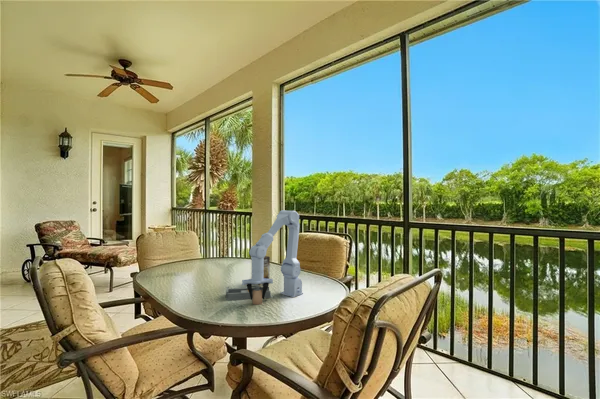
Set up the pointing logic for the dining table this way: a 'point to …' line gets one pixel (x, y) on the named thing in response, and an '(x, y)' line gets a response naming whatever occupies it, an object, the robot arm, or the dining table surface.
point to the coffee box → (265, 270)
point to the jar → (257, 295)
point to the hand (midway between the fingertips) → (257, 298)
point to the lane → (242, 294)
